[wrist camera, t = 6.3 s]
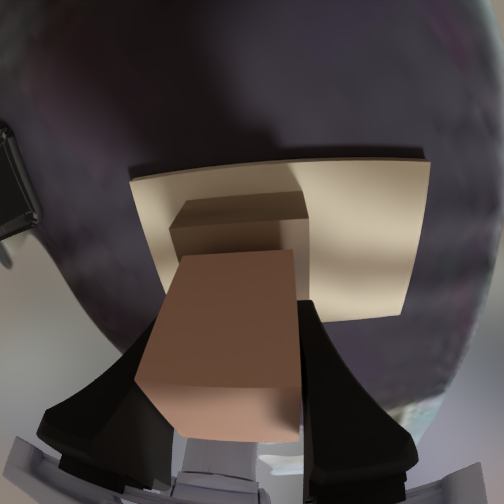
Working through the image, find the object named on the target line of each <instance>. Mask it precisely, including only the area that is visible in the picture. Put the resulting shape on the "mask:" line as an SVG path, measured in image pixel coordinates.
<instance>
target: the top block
mask: <svg viewBox="0 0 504 504" xmlns="http://www.w3.org/2000/svg"><path fill="white" fill-rule="evenodd" d="M134 380H135V382H136V383H137V384H138V386H139V387H140V388H141V389H142V391H143V392H144V393H145V395H146V396H147V397H148V398H149V399H150V401H151V402H152V403H153V404H154V406H155V407H156V408H157V409H158V410H159V411H160V413H161V414H162V415H163V416H164V417H165V418H166V420H167V421H168V422H169V423H170V424H171V425H172V426H173V427H174V429H176V431H177V432H178V433H179V434H180V435H181V436H182V437H189V438H197V439H208V440H220V441H237V442H295V441H296V442H297V441H299V427H300V409H301V364H300V344H299V327H298V311H297V297H296V284H295V271H294V259H293V249H288V250H271V251H254V252H237V253H220V254H204V255H187V256H182V259H181V261H180V263H179V266H178V268H177V270H176V273H175V275H174V277H173V280H172V282H171V285H170V287H169V289H168V292H167V294H166V297H165V299H164V302H163V304H162V307H161V309H160V312H159V314H158V317H157V319H156V322H155V324H154V327H153V330H152V332H151V335H150V338H149V340H148V343H147V346H146V348H145V351H144V354H143V356H142V359H141V362H140V365H139V367H138V370H137V373H136V376H135V379H134Z"/></svg>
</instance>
